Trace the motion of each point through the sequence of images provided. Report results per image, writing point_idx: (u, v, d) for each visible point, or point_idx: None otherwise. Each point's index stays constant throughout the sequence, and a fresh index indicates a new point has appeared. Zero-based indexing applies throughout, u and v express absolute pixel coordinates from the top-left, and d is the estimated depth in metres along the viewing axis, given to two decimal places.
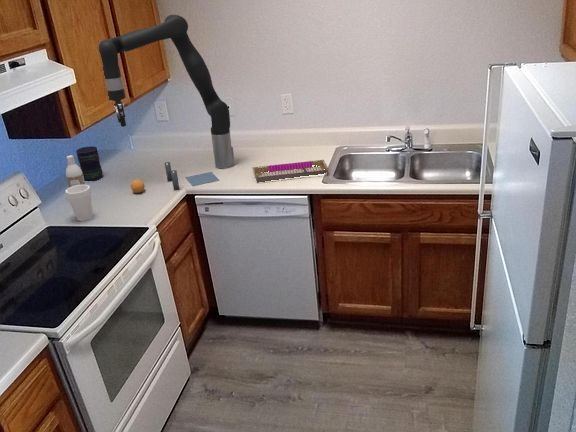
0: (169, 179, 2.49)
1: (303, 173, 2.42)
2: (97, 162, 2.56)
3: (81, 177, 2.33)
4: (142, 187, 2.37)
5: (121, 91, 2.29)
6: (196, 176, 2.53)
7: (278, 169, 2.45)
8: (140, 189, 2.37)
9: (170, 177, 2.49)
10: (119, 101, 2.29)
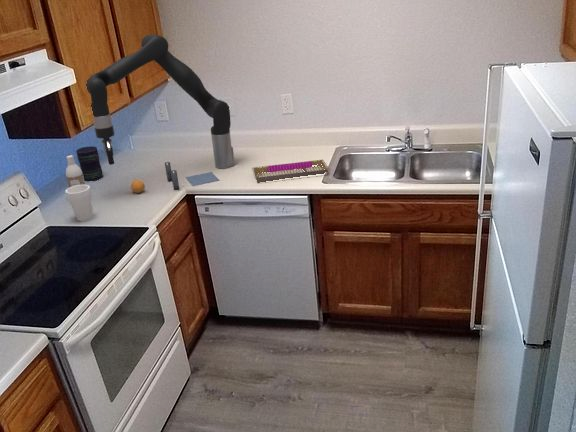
0: (169, 179, 2.49)
1: (303, 173, 2.43)
2: (97, 162, 2.56)
3: (81, 177, 2.33)
4: (142, 187, 2.37)
5: (109, 128, 2.21)
6: (196, 176, 2.53)
7: (278, 169, 2.45)
8: (140, 189, 2.37)
9: (170, 177, 2.49)
10: (107, 139, 2.22)
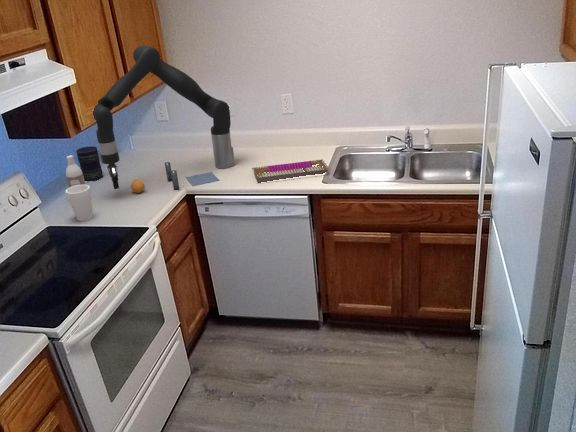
0: (169, 179, 2.49)
1: (303, 173, 2.43)
2: (97, 162, 2.56)
3: (81, 177, 2.33)
4: (142, 187, 2.37)
5: (115, 154, 2.26)
6: (196, 176, 2.53)
7: (278, 169, 2.45)
8: (140, 189, 2.37)
9: (170, 177, 2.49)
10: (113, 165, 2.27)
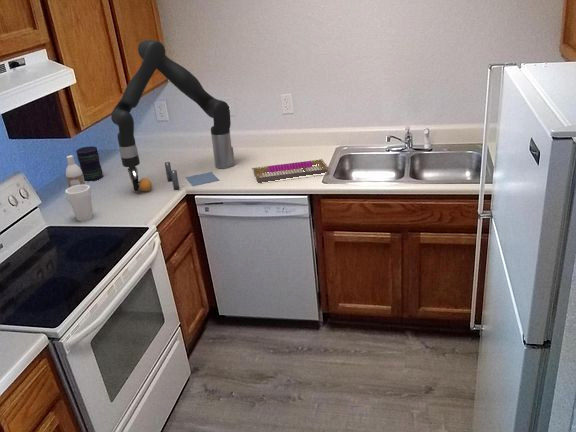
0: (169, 179, 2.49)
1: (304, 173, 2.43)
2: (97, 162, 2.56)
3: (81, 177, 2.33)
4: (148, 188, 2.39)
5: (135, 157, 2.31)
6: (196, 176, 2.53)
7: None
8: (146, 188, 2.38)
9: (170, 177, 2.49)
10: (133, 168, 2.31)
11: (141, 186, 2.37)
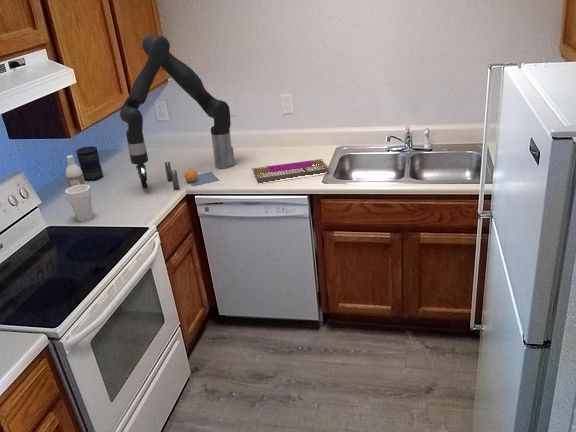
0: (169, 179, 2.49)
1: (304, 173, 2.43)
2: (97, 162, 2.56)
3: (81, 177, 2.33)
4: (192, 180, 2.45)
5: (144, 155, 2.31)
6: None
7: (278, 169, 2.44)
8: (190, 179, 2.44)
9: (170, 177, 2.49)
10: (142, 165, 2.32)
11: (189, 174, 2.44)
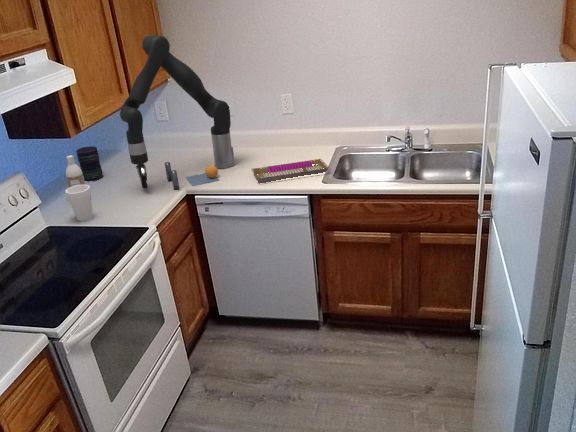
0: (169, 179, 2.49)
1: (304, 172, 2.43)
2: (97, 162, 2.56)
3: (81, 177, 2.33)
4: (213, 169, 2.47)
5: (144, 155, 2.31)
6: (196, 176, 2.53)
7: (279, 169, 2.44)
8: (214, 172, 2.48)
9: (170, 177, 2.49)
10: (142, 165, 2.32)
11: (214, 176, 2.49)
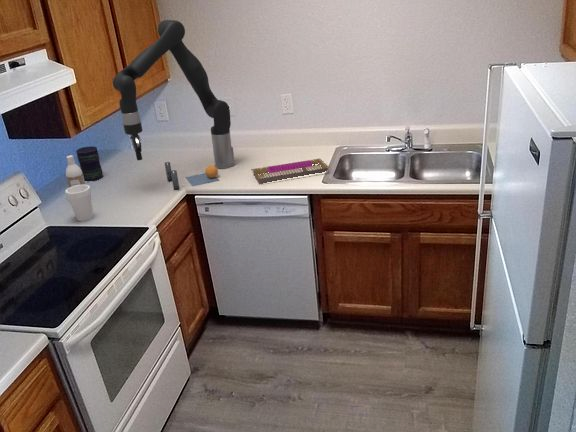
0: (169, 179, 2.49)
1: (304, 172, 2.43)
2: (97, 162, 2.56)
3: (81, 177, 2.33)
4: (213, 169, 2.47)
5: (138, 124, 2.25)
6: (196, 176, 2.53)
7: (279, 169, 2.44)
8: (214, 172, 2.48)
9: (170, 177, 2.49)
10: (136, 135, 2.26)
11: (214, 176, 2.49)
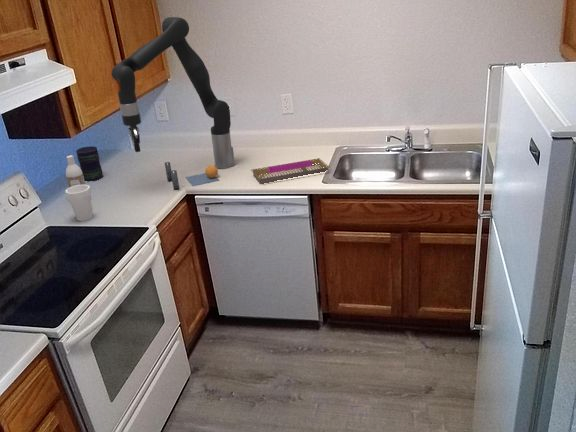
0: (169, 179, 2.49)
1: (305, 172, 2.43)
2: (97, 162, 2.56)
3: (81, 177, 2.33)
4: (213, 169, 2.47)
5: (137, 116, 2.24)
6: (196, 176, 2.53)
7: (279, 170, 2.44)
8: (214, 172, 2.48)
9: (170, 177, 2.49)
10: (135, 126, 2.25)
11: (214, 176, 2.49)
